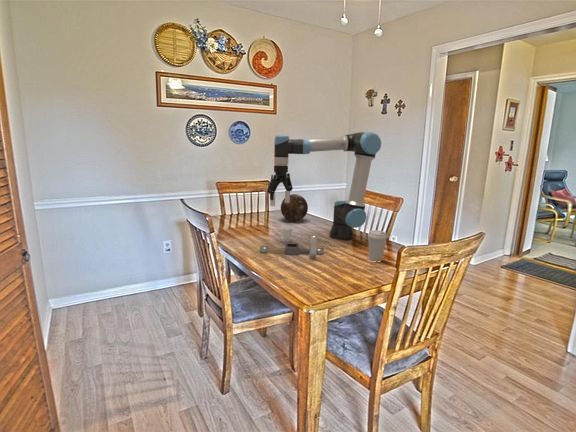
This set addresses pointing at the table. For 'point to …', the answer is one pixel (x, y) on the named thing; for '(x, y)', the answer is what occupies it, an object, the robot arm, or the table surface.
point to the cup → (285, 233)
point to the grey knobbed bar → (290, 249)
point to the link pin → (313, 247)
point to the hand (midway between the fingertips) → (280, 204)
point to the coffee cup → (376, 245)
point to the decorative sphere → (294, 208)
